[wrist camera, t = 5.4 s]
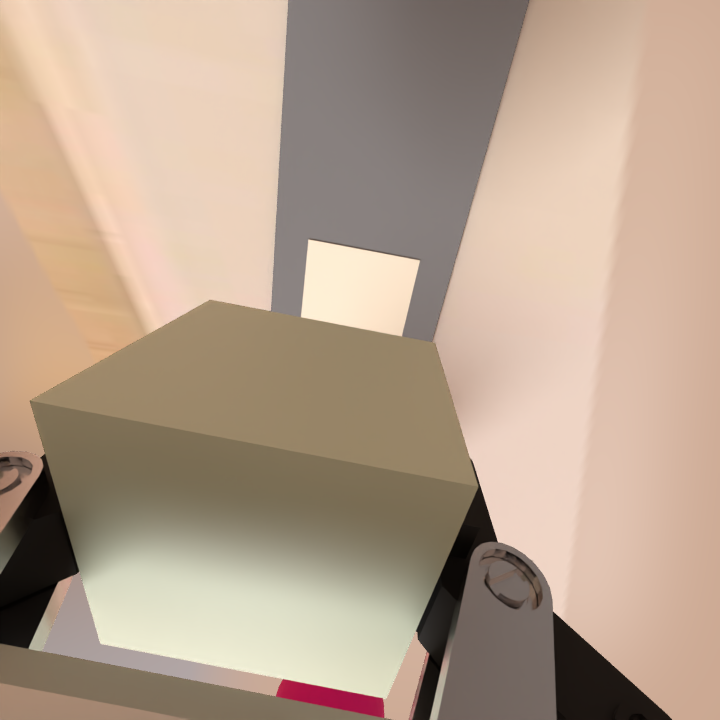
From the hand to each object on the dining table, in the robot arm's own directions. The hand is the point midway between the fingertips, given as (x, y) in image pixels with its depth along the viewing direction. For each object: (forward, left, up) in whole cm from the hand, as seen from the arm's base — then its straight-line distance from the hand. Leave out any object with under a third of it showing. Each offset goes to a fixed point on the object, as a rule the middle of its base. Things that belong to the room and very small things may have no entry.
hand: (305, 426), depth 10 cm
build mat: (-8, 0, -16) cm, 18 cm away
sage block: (0, 0, -1) cm, 1 cm away
